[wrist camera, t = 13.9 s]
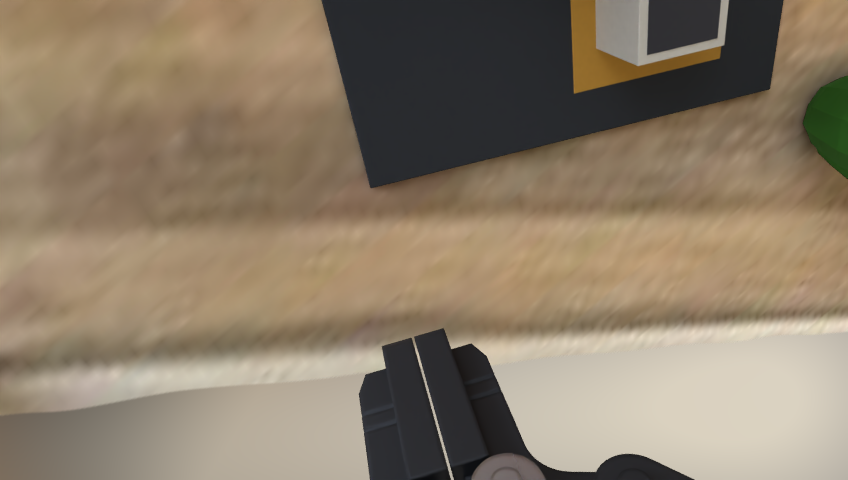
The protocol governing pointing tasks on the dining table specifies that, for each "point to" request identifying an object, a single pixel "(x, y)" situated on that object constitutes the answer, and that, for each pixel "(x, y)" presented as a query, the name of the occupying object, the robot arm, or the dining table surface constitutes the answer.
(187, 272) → the dining table surface
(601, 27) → the matte off-white cube
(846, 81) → the bell pepper
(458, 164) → the mat
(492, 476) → the robot arm
